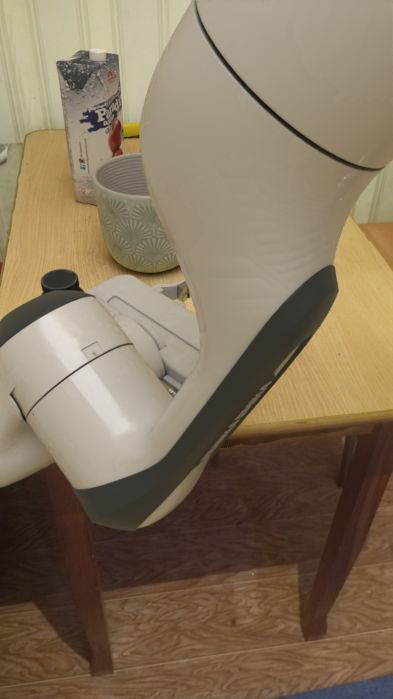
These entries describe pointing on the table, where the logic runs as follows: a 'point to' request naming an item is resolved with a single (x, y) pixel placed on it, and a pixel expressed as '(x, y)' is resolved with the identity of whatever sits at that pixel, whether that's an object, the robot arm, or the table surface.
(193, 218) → the robot arm
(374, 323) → the table surface
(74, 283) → the pill bottle
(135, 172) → the planter
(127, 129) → the banana
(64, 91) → the juice carton
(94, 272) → the table surface
